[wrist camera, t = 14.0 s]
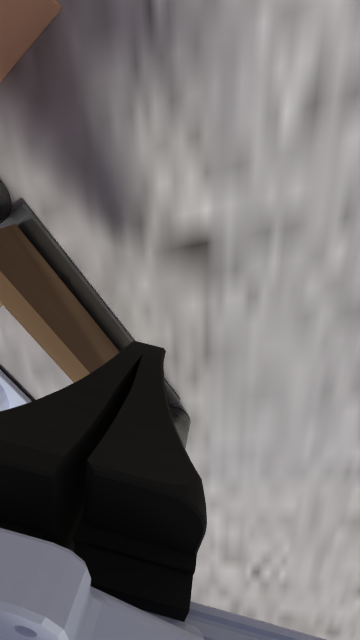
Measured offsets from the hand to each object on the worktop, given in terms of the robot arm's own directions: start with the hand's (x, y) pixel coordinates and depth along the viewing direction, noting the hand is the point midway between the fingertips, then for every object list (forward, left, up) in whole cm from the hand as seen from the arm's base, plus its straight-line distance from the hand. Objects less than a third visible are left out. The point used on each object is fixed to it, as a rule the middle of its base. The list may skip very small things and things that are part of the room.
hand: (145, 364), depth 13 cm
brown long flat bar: (-5, +1, -5) cm, 7 cm away
